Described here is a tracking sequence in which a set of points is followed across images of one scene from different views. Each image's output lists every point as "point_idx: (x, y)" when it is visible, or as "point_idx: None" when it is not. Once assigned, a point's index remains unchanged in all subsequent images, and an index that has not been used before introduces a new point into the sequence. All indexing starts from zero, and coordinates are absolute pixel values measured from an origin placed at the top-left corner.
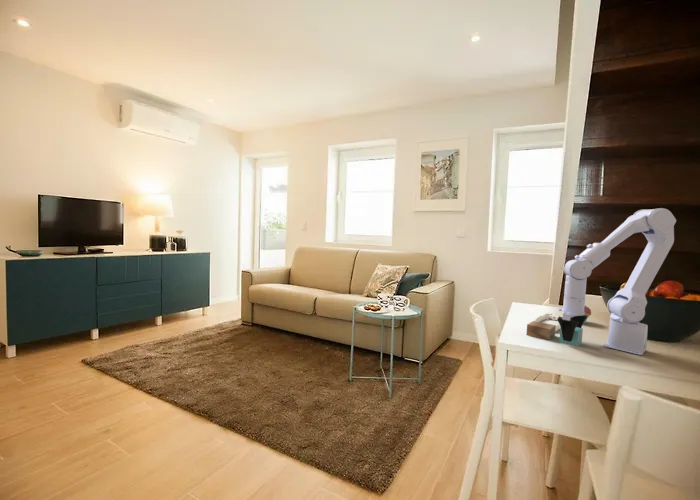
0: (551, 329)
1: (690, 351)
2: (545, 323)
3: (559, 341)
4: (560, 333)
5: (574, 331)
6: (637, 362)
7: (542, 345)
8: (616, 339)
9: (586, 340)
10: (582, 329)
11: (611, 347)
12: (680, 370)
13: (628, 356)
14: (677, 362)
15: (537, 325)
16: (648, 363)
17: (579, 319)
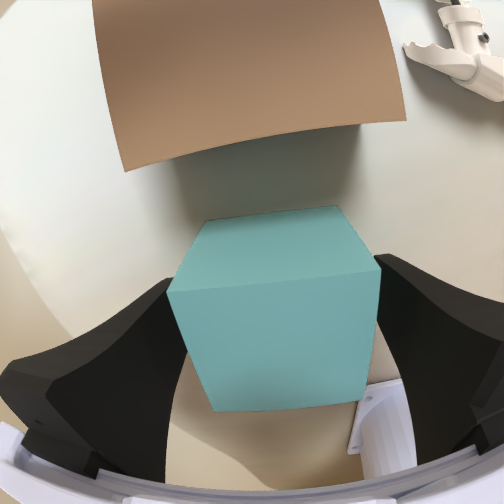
0: (199, 150)
1: None
2: (366, 4)
3: (205, 223)
4: (187, 257)
5: (209, 386)
6: (254, 457)
7: (39, 200)
8: (371, 449)
9: None
10: (350, 395)
11: (358, 408)
12: (289, 485)
13: (300, 442)
14: (359, 473)
15: (146, 4)
16: (277, 465)
17: (428, 429)
